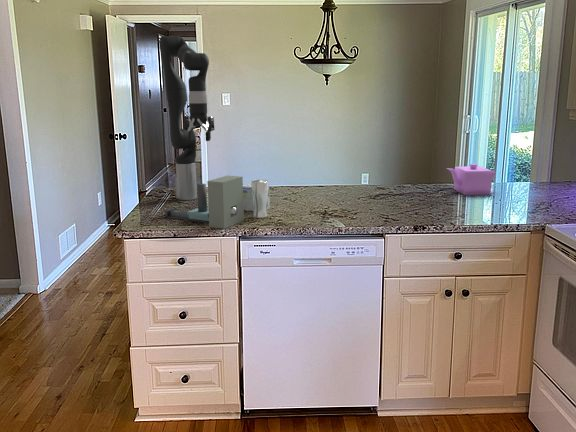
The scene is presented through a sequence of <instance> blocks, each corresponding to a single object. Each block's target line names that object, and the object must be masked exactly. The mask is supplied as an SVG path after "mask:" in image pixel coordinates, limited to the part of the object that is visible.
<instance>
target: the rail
mask: <svg viewBox="0 0 576 432" xmlns="http://www.w3.org/2000/svg"><path fill="white" fill-rule="evenodd" d="M164 217H165V218H167V219H175V220H182V221H190V222H191V221H192V222H198V223H206V224H209V221H204V220H197V219H189V215H188V211H182V210H176V208H175V207H171V208H167V209H165V210H164Z"/></svg>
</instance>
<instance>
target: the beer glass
mask: <svg viewBox="0 0 576 432" xmlns="http://www.w3.org/2000/svg"><path fill="white" fill-rule="evenodd" d="M268 182H269V181H268V180H267V179H253V180H251V184H252V185H251V194H252V200H253V205H254V211H253V213H252V217H253V218H256V219H264V218H267V217H268V210H267V200H268V185H269V183H268Z"/></svg>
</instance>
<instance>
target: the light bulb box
mask: <svg viewBox="0 0 576 432" xmlns="http://www.w3.org/2000/svg"><path fill="white" fill-rule="evenodd" d="M251 185H252V183H251V184H250V183H248V184H247V183H246V184H245V185H243V210H244V211H250V212H251V211H252V212H254V205H253V200H252V194H251ZM270 198H271V197H270V185H269V184H268V200H267V211H268V210H270V209H271V208H270V207H271V204H270V203H271V202H270Z"/></svg>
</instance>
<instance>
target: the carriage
mask: <svg viewBox="0 0 576 432" xmlns="http://www.w3.org/2000/svg"><path fill="white" fill-rule="evenodd" d="M196 184H197V208H195V209H194V208H193V209H192V210H188V211H187V212H188V215H189V219H197V220H204V221H209V208H208V193H207V184H206V183H196Z"/></svg>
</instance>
